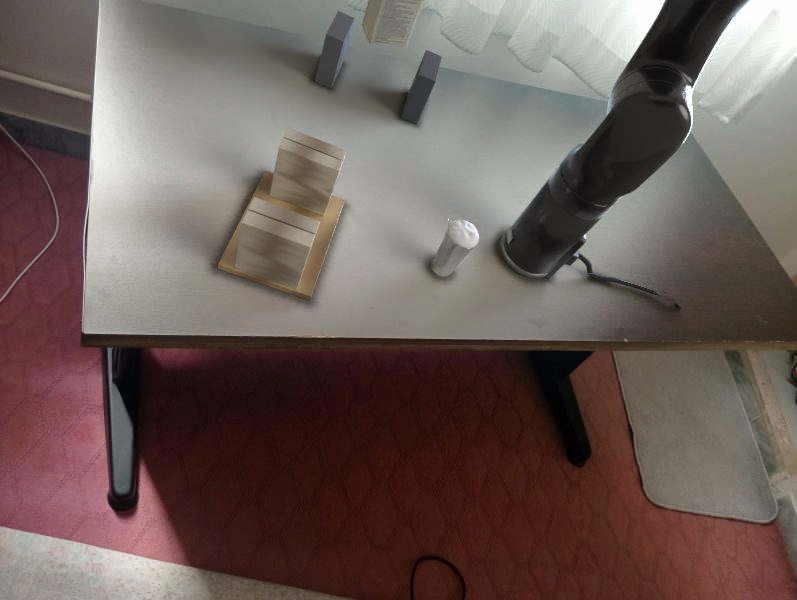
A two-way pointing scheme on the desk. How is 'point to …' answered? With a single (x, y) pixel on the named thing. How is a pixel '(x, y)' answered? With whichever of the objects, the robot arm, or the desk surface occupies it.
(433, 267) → the milkshake
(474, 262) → the desk surface
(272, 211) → the wooden holder
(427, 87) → the grey bookends
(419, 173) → the desk surface
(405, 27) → the cosmetic box
